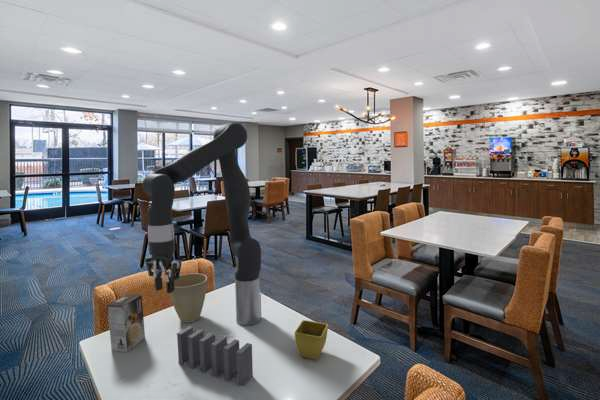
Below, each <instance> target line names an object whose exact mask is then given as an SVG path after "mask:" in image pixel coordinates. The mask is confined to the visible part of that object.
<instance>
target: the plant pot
mask: <svg viewBox="0 0 600 400" xmlns="http://www.w3.org/2000/svg"><path fill="white" fill-rule="evenodd" d="M207 283H208V276H207V275H206V274H203V273H185V274H180V275H179V278H178V279H176V280H174V291H173V292H171V293H169V296H170V301H171V303H172V305H173V308H174V311H175V313H176V315H177V317H178V318H179V321H180V322H182V323H193V322H195V321H197V320H199V319H200V317H201V314H202V311H203V307H204V303H205V300H206V299H205V298H206V294H207V293H206V292H207V286H208V284H207Z"/></svg>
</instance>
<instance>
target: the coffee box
mask: <svg viewBox="0 0 600 400" xmlns="http://www.w3.org/2000/svg"><path fill="white" fill-rule="evenodd" d="M106 307H107V308H106V309H107V315H108V317H107V318H108V326H109V327H108V328H109V335H110V336H109V337H110V349H111V351H116V352H125V353H128V352H129V351H130V350H132V349H133V348H134V347H135V346H137V345H138V344H139V343H140V342H142V341H143V340H144V339H146V338H145V337H146V333H145V323H144V322H145V321H144V311H143V310H144V308H143V296H142V294H129V293H126V294H124V295H122V296H120V297H119V298H117V299H115V300H112V302H109V303H108V304H107V306H106Z"/></svg>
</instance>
